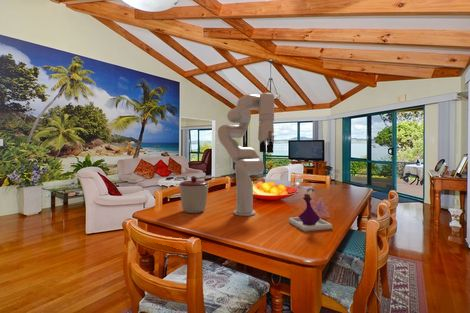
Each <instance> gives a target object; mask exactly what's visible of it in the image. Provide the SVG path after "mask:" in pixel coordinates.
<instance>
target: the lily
mask: <svg viewBox="0 0 470 313" xmlns="http://www.w3.org/2000/svg"><path fill="white" fill-rule="evenodd" d="M311 202H312V204H313V206H311V207H312V209H313V210H314V211H315V213H316V214H317V215H318V216H319V217H320V219H322V216H325V217H327V218H331V216H330V214H329V212H328V211H327V210H328V209H329V206H327V205H324V201H323V198H322V197H319V199H318V200H317V201H315V200H314V199H311Z"/></svg>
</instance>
